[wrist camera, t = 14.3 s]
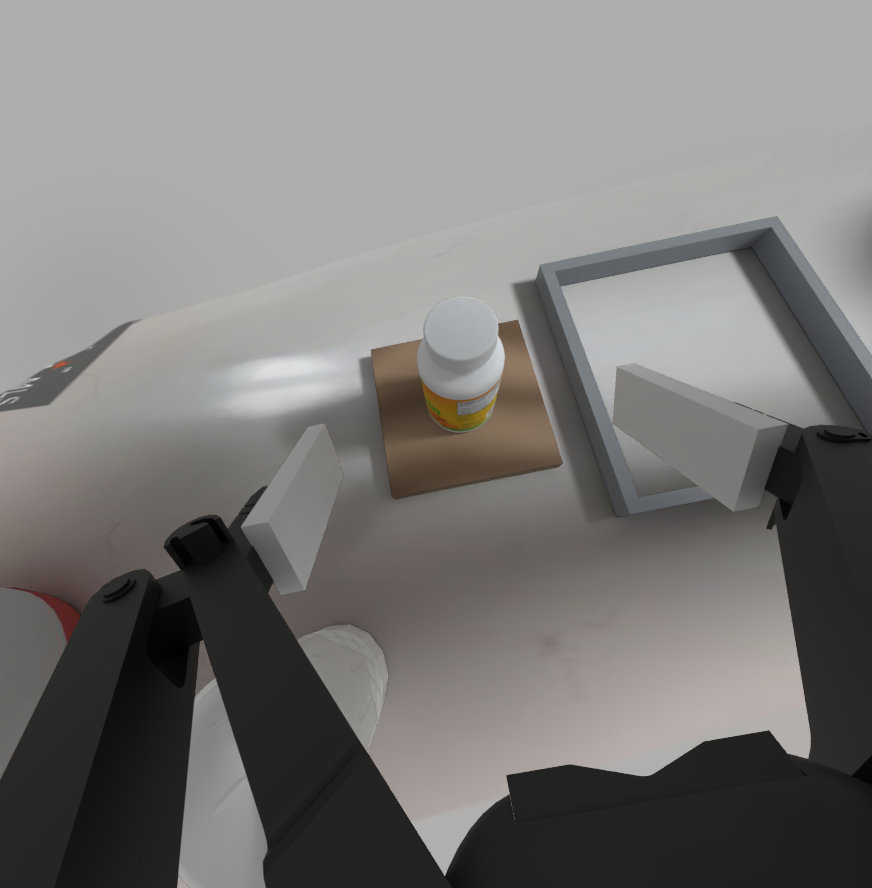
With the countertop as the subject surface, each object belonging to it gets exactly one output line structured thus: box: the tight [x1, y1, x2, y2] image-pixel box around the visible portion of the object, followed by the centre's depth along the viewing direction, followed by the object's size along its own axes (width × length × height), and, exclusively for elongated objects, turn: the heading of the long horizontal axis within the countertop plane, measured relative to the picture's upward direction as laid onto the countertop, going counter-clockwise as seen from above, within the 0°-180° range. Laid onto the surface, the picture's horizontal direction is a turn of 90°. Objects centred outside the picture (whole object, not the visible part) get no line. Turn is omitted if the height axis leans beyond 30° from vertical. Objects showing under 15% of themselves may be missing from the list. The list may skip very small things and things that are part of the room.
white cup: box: [178, 624, 389, 888], centre depth 18 cm, size 8×8×10 cm
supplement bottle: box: [417, 296, 505, 433], centre depth 22 cm, size 5×5×10 cm
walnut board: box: [371, 320, 563, 499], centre depth 27 cm, size 13×13×1 cm
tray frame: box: [535, 216, 872, 517], centre depth 27 cm, size 22×21×2 cm
